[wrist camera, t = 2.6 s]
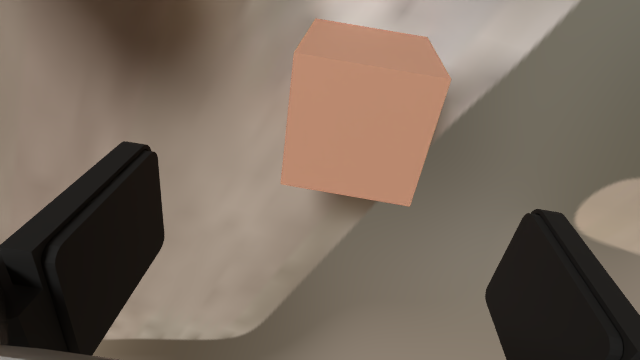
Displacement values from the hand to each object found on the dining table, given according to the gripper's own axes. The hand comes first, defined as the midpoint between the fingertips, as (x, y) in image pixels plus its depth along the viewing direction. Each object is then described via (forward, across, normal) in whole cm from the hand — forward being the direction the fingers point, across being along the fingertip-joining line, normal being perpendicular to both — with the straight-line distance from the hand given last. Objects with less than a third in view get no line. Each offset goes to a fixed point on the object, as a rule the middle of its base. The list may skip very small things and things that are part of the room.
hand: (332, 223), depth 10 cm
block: (+10, -1, -1) cm, 10 cm away
